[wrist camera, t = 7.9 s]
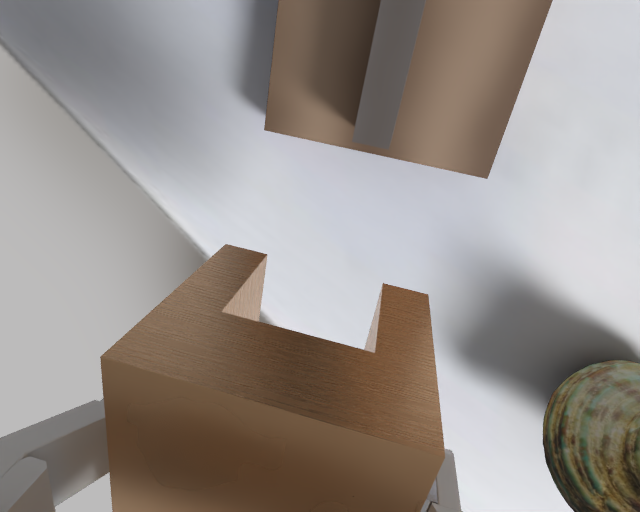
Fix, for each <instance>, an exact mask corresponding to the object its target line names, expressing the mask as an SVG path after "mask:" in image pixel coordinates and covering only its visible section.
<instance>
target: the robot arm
mask: <svg viewBox="0 0 640 512" xmlns="http://www.w3.org/2000/svg"><path fill="white" fill-rule="evenodd" d="M444 451H445V459H444V461H443V463H442V465H441V468H440V470H439V472H438V474H437V476H436V479H435V481H434V483H433V485H432V487H431V490H430V492H429V494H428V496H427V498H426V501H425V503H424V505H423V507H422V509H421V511H420V512H462V511H461V505H460V498H459V491H458V483H457V476H456V468H455V461H454V454H453V452H452V451H451V450H448V449H444ZM108 472H109V459H108V446H107V434H106V421H105V408H104V398H103V399H102V400H101V401H96V400H94V401H91V402H89V403H87V404H84V405H81V406H79V407H76V408H74V409H71V410H69V411H66V412H64V413H61V414H59V415H56V416H54V417H51V418H49V419H46V420H44V421H41V422H39V423H37V424H34V425H31V426H29V427H26V428H24V429H21V430H19V431H16V432H14V433H11V434H9V435H7V436H4V437H1V438H0V512H55V506H57V505H59V504H60V503H62V502H63V501H65V500H66V499H68V498H70V497H71V496H73V495H74V494H76V493H77V492H79V491H81V490H82V489H84V488H85V487H87V486H88V485H90V484H91V483H93V482H94V481H96V480H98V479H99V478H101V477H102V476H104V475H105V474H107V473H108Z"/></svg>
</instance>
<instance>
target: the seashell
mask: <svg viewBox="0 0 640 512" xmlns="http://www.w3.org/2000/svg"><path fill="white" fill-rule="evenodd" d="M543 446H544V452H545V459H546V464H547V466H548V468H549V471H550V473H551V476H552V478H553V481H554V482H555V484H556V486H557V488H558V490H559V491H560V493H561V495H562V496H563V498H564V499H565V501H566V502H567V503H568V505H569V506H570V507H571V508H572V509H573V511H574V512H640V364H639V363H636V362H632V361H622V360H610V361H606V362H602V363H597V364H592V365H589V366H587V367H585V368H583V369H581V370H579V371H577V372H575V373H574V374H572V375H571V376H570V377H568V378H567V379H566V380H565V381H564V382H563V383H562V384H561V385H560V386H559V387H558V388H557V389H556V390H555V391H554V392H553V394H552V396H551V398H550V401H549V403H548V406H547V409H546V412H545V416H544V422H543Z"/></svg>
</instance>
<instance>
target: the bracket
mask: <svg viewBox="0 0 640 512" xmlns="http://www.w3.org/2000/svg"><path fill="white" fill-rule="evenodd" d="M551 3H552V0H279V2H278V11H277V20H276V29H275V38H274V47H273V56H272V65H271V74H270V83H269V92H268V101H267V110H266V119H265V128H264V130H266V131H271V132H275V133H280V134H284V135H289V136H294V137H298V138H303V139H307V140H312V141H316V142H321V143H326V144H330V145H335V146H339V147H344V148H349V149H353V150H358V151H362V152H367V153H372V154H376V155H381V156H385V157H390V158H395V159H399V160H404V161H408V162H413V163H417V164H422V165H427V166H431V167H436V168H440V169H445V170H450V171H454V172H459V173H463V174H468V175H473V176H477V177H482V178H486V179H487V178H488V176H489V173H490V170H491V167H492V165H493V162H494V159H495V156H496V154H497V151H498V148H499V145H500V143H501V140H502V137H503V135H504V132H505V129H506V126H507V124H508V121H509V118H510V115H511V113H512V110H513V107H514V104H515V102H516V99H517V96H518V93H519V91H520V88H521V85H522V82H523V80H524V77H525V74H526V72H527V69H528V66H529V63H530V61H531V58H532V55H533V52H534V50H535V47H536V44H537V41H538V39H539V36H540V33H541V30H542V28H543V25H544V22H545V19H546V17H547V14H548V11H549V9H550V6H551Z"/></svg>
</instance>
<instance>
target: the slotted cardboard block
mask: <svg viewBox="0 0 640 512" xmlns="http://www.w3.org/2000/svg"><path fill="white" fill-rule="evenodd" d="M266 261H267V254H264V253H260V252H256V251H252V250H248V249H244V248H240V247H236V246H232V245H228V244H225V245H224V246H223V247H222V248H221V249H220V250H219V251H218V252H217V253H215V254H214V255H213V256H212V257H211V258H210V259H209V260H208V261H207V262H205V263H204V264H203V265H202V266H201V267H200V268H199V269H198V270H197V271H195V272H194V273H193V274H192V275H191V276H190V277H189V278H188V279H187V280H185V281H184V282H183V283H182V284H181V285H180V286H179V287H178V288H176V290H174V291H173V292H172V293H171V294H170V295H169V296H168V297H166V298H165V299H164V300H163V301H162V302H161V303H160V304H159V305H158V306H156V307H155V308H154V309H153V310H152V311H151V312H150V313H149V314H148V315H146V316H145V317H144V318H143V319H142V320H141V321H140V322H139V323H137V324H136V325H135V326H134V327H133V328H132V329H131V330H130V331H129V332H127V333H126V334H125V335H124V336H123V337H122V338H121V339H120V340H119V341H117V342H116V343H115V344H114V345H113V346H112V347H111V348H110V349H109V350H107V351H106V352H105V353H104V354H103V355H102V356H101V357H100V358H101V369H102V383H103V396H104V408H105V421H106V434H107V446H108V459H109V472H110V484H111V497H112V510H113V512H420V511H421V509H422V507H423V505H424V503H425V501H426V498H427V496H428V494H429V492H430V490H431V487H432V485H433V483H434V481H435V479H436V476H437V474H438V472H439V470H440V468H441V465H442V463H443V461H444V459H445V451H444V441H443V432H442V422H441V412H440V403H439V393H438V384H437V374H436V365H435V355H434V346H433V336H432V327H431V317H430V308H429V298H428V294H424V293H420V292H416V291H412V290H408V289H404V288H400V287H396V286H392V285H388V284H384V283H383V285H382V288H381V292H380V295H379V299H378V303H377V306H376V310H375V313H374V317H373V321H372V324H371V328H370V331H369V335H368V338H367V342H366V346H365V349H364V350H362V349H359V348H355V347H351V346H347V345H344V344H340V343H336V342H333V341H329V340H325V339H321V338H318V337H314V336H310V335H307V334H303V333H299V332H295V331H292V330H288V329H284V328H281V327H277V326H273V325H269V324H266V323H262V322H259V315H260V307H261V299H262V292H263V284H264V277H265V269H266Z"/></svg>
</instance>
